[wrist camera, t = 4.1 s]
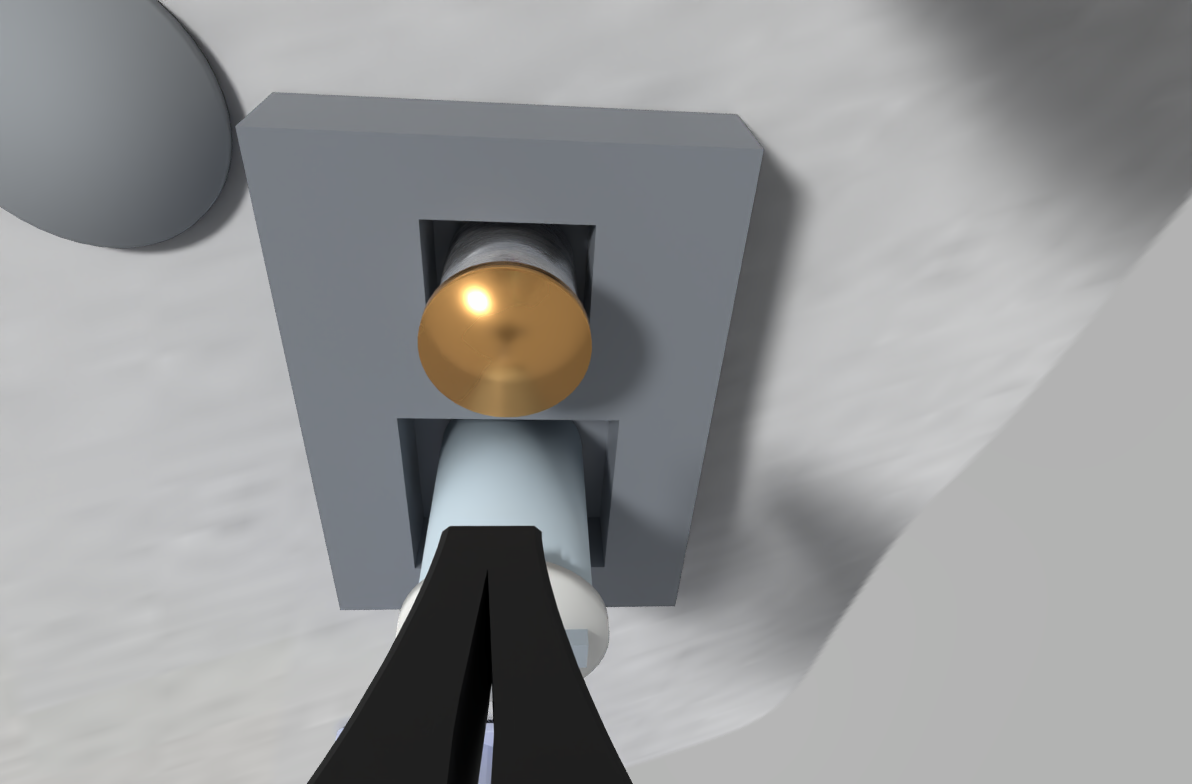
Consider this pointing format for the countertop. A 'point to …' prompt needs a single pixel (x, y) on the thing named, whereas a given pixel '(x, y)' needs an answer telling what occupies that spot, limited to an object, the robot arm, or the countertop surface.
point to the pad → (107, 121)
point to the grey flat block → (413, 272)
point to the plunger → (506, 320)
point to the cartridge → (523, 511)
